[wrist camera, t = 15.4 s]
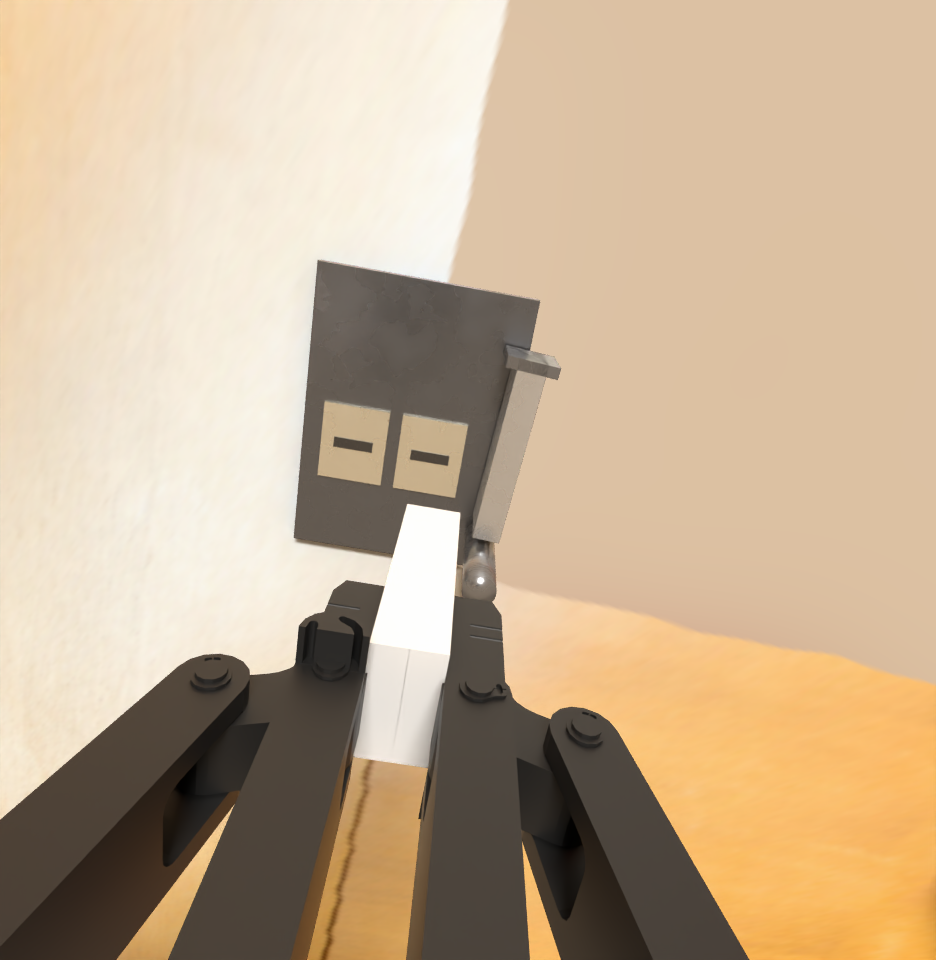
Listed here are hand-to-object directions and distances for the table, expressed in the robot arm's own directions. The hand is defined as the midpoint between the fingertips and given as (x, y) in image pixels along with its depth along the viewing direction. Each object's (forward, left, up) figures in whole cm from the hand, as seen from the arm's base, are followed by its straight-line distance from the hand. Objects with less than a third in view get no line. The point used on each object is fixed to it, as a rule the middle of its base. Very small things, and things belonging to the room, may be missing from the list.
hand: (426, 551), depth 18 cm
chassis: (-3, -6, -32) cm, 33 cm away
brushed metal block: (+5, -5, -31) cm, 32 cm away
